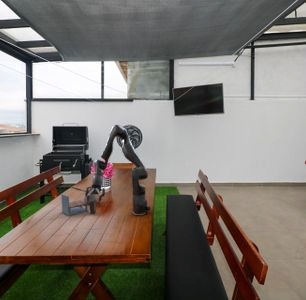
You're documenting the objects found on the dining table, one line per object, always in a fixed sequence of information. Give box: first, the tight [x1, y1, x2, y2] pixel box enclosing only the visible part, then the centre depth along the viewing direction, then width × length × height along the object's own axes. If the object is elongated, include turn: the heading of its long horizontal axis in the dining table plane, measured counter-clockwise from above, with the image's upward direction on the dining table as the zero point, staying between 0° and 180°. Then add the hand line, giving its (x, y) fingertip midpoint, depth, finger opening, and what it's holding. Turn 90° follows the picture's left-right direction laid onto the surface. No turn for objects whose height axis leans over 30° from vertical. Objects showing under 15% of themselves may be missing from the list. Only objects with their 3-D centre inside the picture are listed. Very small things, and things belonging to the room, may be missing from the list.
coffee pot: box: [70, 186, 99, 205], centre depth 209 cm, size 21×12×15 cm, turn 113°
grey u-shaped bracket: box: [61, 193, 89, 217], centre depth 190 cm, size 15×11×14 cm
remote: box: [89, 200, 97, 215], centre depth 186 cm, size 4×3×9 cm
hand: (93, 201), depth 188 cm, fingers open, 8 cm apart
